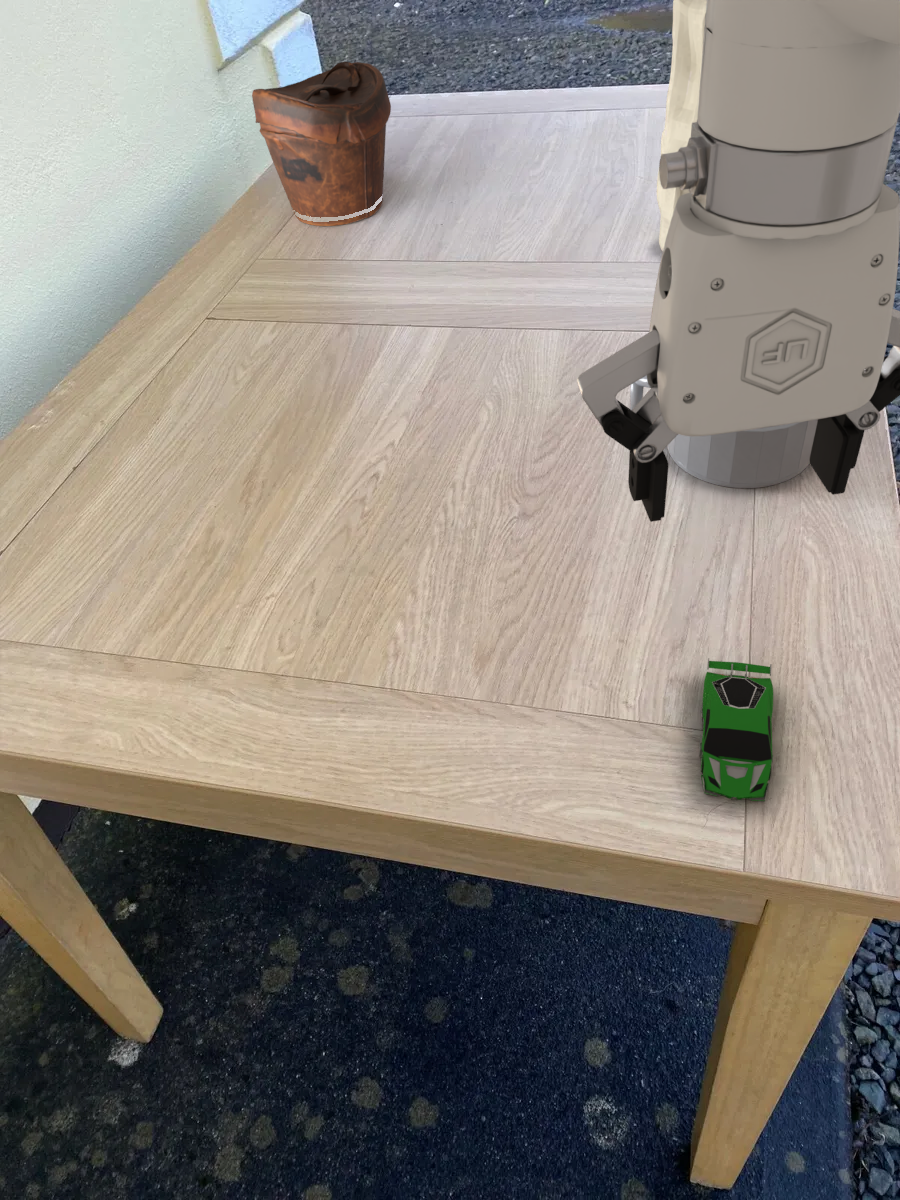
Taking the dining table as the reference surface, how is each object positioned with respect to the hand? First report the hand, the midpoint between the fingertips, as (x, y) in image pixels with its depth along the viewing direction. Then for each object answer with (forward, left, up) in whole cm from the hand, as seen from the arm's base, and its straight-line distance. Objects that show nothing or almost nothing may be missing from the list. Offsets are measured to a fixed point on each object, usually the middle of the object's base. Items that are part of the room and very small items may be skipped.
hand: (737, 491), depth 49 cm
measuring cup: (+9, -31, -20) cm, 37 cm away
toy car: (-3, +1, -20) cm, 20 cm away
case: (+74, -66, -20) cm, 101 cm away
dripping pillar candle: (+23, -67, -20) cm, 73 cm away
